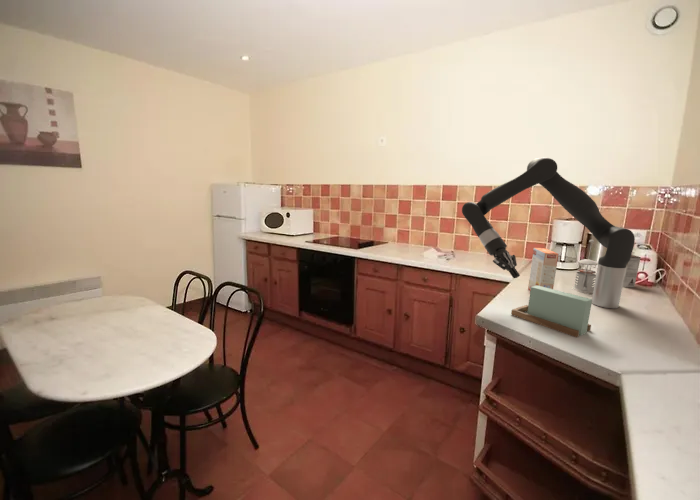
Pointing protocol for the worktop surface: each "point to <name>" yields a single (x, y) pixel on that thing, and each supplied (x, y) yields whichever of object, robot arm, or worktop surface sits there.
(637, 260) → the coffee box
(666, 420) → the worktop surface
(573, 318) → the pale green rectangular block
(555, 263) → the cracker box
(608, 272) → the robot arm
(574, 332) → the open frame
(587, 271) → the french press
